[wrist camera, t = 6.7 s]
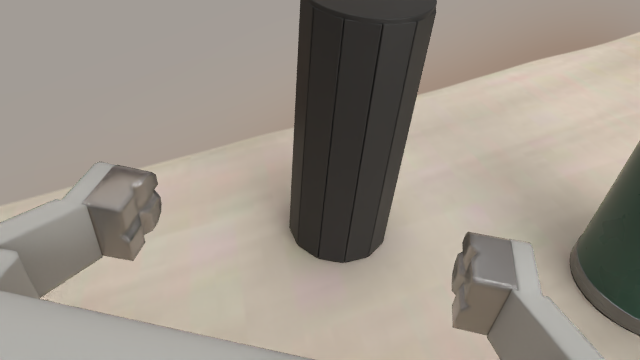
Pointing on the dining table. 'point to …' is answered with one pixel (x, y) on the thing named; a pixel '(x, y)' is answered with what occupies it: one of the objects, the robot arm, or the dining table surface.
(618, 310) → the flask
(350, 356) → the dining table surface
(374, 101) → the ribbed black grip post
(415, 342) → the dining table surface
